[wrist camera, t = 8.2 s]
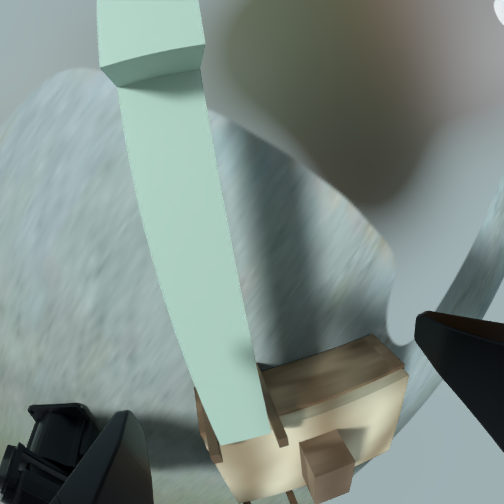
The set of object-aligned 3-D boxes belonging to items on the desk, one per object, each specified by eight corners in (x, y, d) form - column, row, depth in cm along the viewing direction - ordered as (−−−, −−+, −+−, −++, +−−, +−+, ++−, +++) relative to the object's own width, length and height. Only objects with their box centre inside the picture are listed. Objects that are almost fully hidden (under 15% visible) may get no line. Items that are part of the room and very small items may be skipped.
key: (216, 427, 16) (227, 479, 12) (118, 34, 9) (96, -10, 5) (264, 415, 16) (283, 465, 13) (188, 19, 9) (193, -31, 6)
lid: (235, 489, 22) (246, 532, 17) (202, 426, 18) (212, 486, 14) (380, 439, 25) (405, 472, 20) (396, 362, 21) (435, 401, 16)
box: (228, 464, 26) (243, 522, 19) (190, 378, 22) (199, 458, 15) (363, 420, 29) (396, 467, 22) (373, 324, 24) (428, 375, 17)
